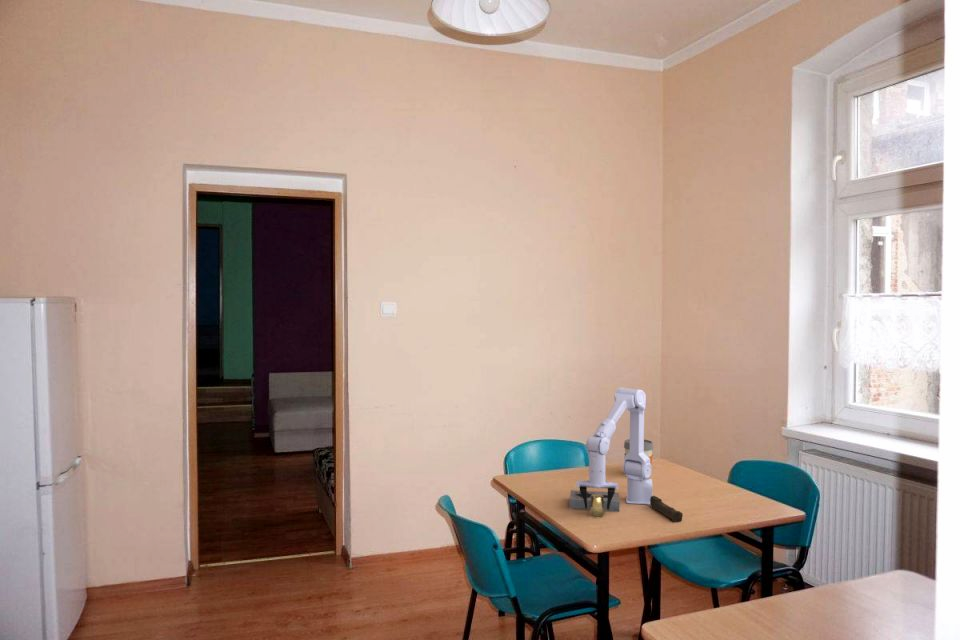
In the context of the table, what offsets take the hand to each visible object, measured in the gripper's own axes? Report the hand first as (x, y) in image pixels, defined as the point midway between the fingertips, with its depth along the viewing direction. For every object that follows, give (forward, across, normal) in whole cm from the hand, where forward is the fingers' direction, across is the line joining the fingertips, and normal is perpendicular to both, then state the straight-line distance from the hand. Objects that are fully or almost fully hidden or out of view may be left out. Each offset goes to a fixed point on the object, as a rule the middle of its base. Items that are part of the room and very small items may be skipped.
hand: (597, 508), depth 229 cm
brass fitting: (+3, 0, 0) cm, 3 cm away
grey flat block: (+3, -1, +12) cm, 12 cm away
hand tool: (+3, +23, +6) cm, 24 cm away
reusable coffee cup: (+3, +18, +59) cm, 62 cm away
